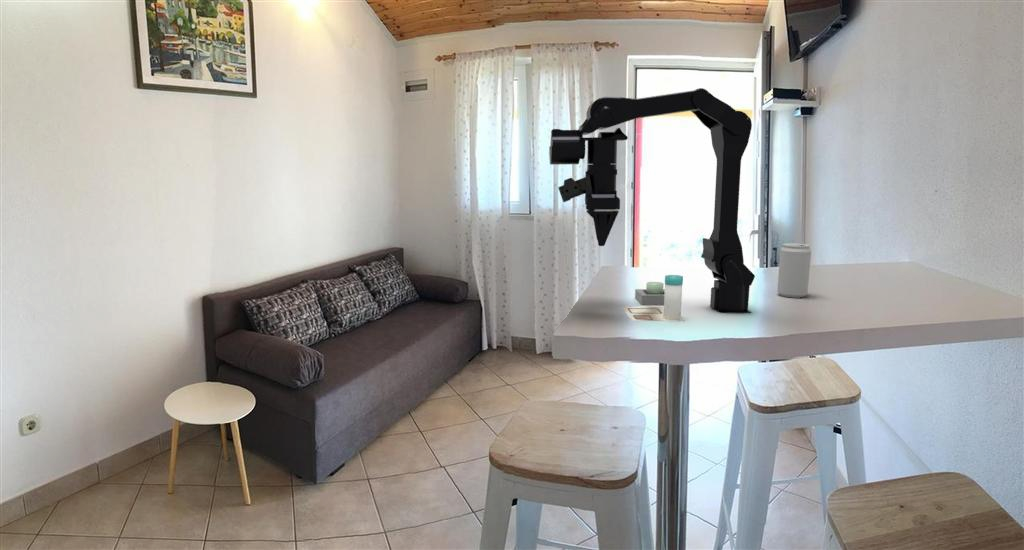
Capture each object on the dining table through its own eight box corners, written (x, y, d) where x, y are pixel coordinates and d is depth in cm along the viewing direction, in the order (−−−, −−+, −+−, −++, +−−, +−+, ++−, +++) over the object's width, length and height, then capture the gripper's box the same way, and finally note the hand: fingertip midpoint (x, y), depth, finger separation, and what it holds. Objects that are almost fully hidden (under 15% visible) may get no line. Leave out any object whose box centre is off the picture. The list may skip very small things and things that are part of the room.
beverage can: (810, 299, 135) (815, 246, 133) (780, 297, 137) (784, 245, 135) (803, 293, 142) (807, 243, 139) (774, 292, 143) (778, 242, 141)
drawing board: (672, 307, 126) (672, 305, 126) (691, 324, 113) (691, 321, 113) (615, 307, 127) (615, 305, 126) (628, 324, 113) (628, 321, 113)
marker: (678, 316, 117) (680, 274, 116) (682, 320, 114) (685, 278, 113) (661, 316, 117) (663, 274, 116) (665, 320, 114) (667, 277, 113)
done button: (660, 292, 132) (661, 281, 131) (664, 296, 128) (665, 284, 128) (644, 292, 132) (644, 281, 131) (648, 296, 128) (648, 284, 128)
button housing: (666, 300, 134) (666, 289, 133) (674, 307, 127) (674, 295, 127) (634, 300, 134) (635, 289, 133) (641, 307, 127) (641, 295, 127)
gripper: (562, 165, 128) (561, 237, 131) (559, 164, 110) (558, 249, 112) (614, 164, 127) (613, 237, 129) (621, 163, 108) (619, 249, 111)
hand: (600, 243), depth 121 cm, fingers open, 9 cm apart
